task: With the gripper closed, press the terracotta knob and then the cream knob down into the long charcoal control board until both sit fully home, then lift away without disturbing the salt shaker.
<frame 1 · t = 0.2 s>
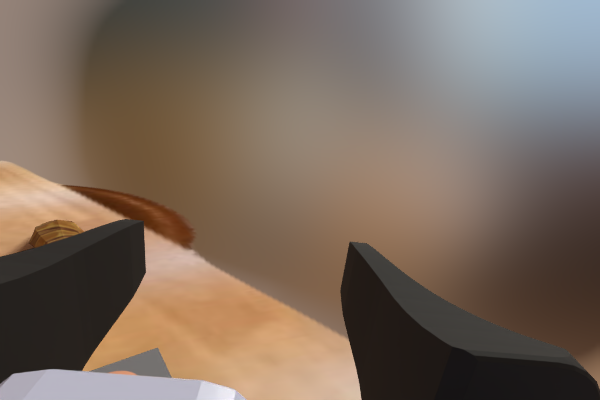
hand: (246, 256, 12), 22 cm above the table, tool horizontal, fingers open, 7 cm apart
croissant: (60, 252, 50), on the table
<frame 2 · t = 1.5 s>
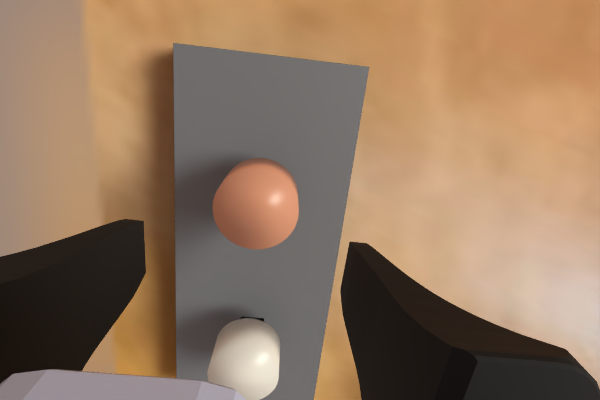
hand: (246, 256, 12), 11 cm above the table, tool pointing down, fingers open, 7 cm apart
knob 1: (260, 194, 18), point 4 cm above the table, slide at 0.0 cm
control board: (259, 243, 24), on the table
knob 2: (248, 344, 21), point 4 cm above the table, slide at 0.0 cm
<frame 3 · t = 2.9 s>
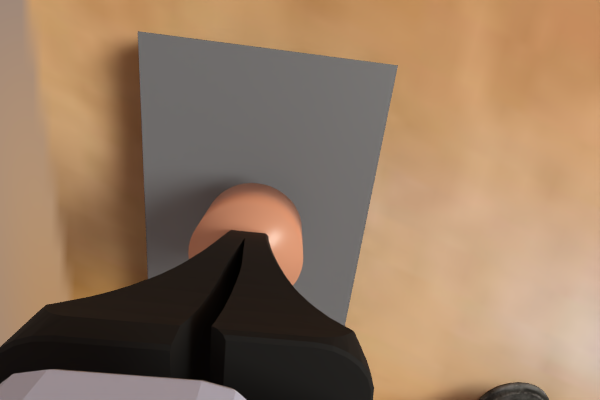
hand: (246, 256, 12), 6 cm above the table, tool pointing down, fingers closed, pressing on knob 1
knob 1: (253, 228, 14), point 4 cm above the table, slide at 0.2 cm, touching gripper
control board: (254, 278, 19), on the table
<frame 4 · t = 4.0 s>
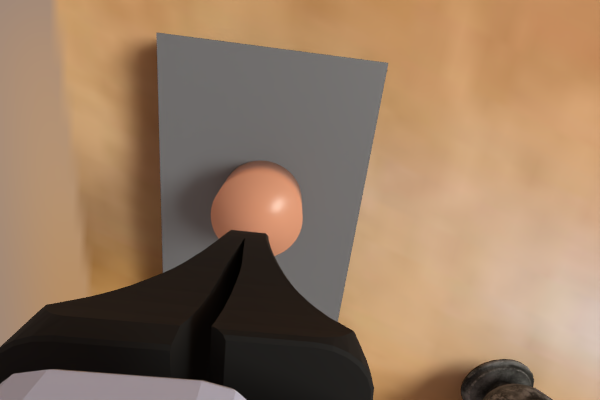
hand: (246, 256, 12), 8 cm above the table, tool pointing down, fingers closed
knob 1: (261, 199, 17), point 2 cm above the table, slide at 1.6 cm, touching control board
control board: (259, 259, 21), on the table
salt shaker: (495, 384, 25), on the table
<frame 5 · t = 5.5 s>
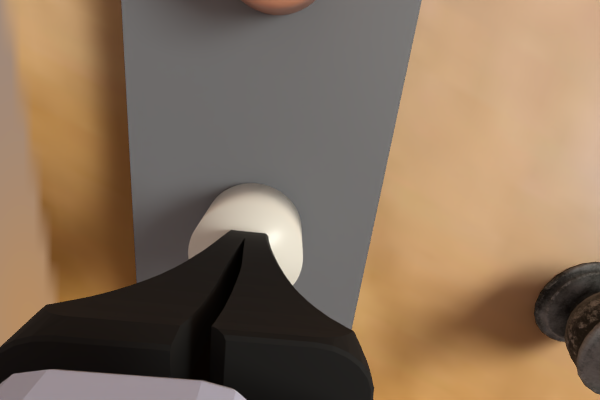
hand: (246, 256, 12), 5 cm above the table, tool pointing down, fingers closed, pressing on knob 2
control board: (268, 100, 15), on the table
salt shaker: (579, 301, 19), on the table
knob 2: (253, 229, 14), point 3 cm above the table, slide at 1.4 cm, touching gripper
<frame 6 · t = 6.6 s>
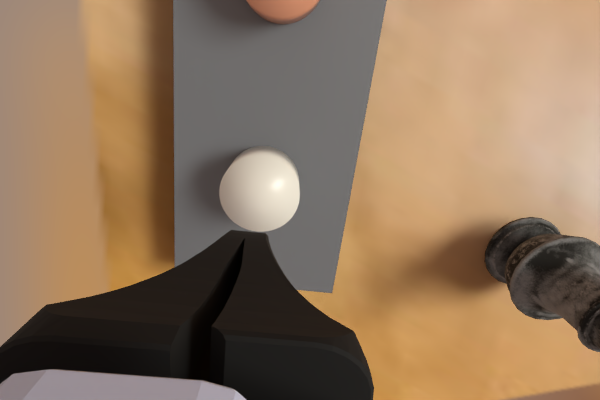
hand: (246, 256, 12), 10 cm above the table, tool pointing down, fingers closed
control board: (274, 86, 20), on the table
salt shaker: (520, 250, 24), on the table
knob 2: (263, 181, 19), point 3 cm above the table, slide at 1.6 cm
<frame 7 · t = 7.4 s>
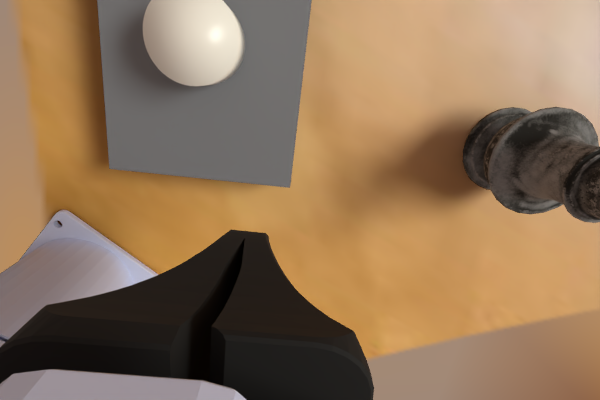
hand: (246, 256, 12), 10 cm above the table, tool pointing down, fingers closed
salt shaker: (502, 149, 22), on the table
knob 2: (204, 42, 17), point 3 cm above the table, slide at 1.6 cm
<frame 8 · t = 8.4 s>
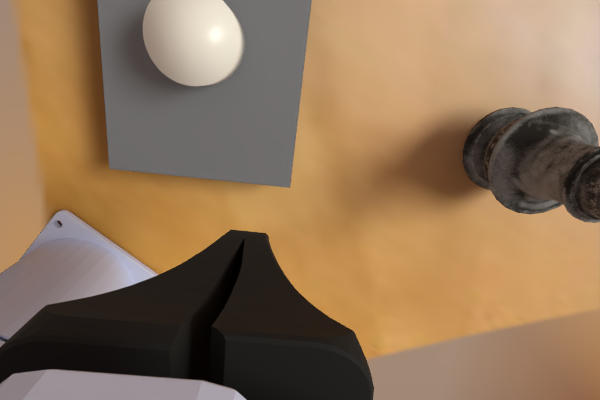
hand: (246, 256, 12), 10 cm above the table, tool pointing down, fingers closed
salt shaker: (502, 149, 22), on the table
knob 2: (204, 42, 17), point 3 cm above the table, slide at 1.6 cm
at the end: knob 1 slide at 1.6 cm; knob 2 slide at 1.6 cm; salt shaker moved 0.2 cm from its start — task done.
